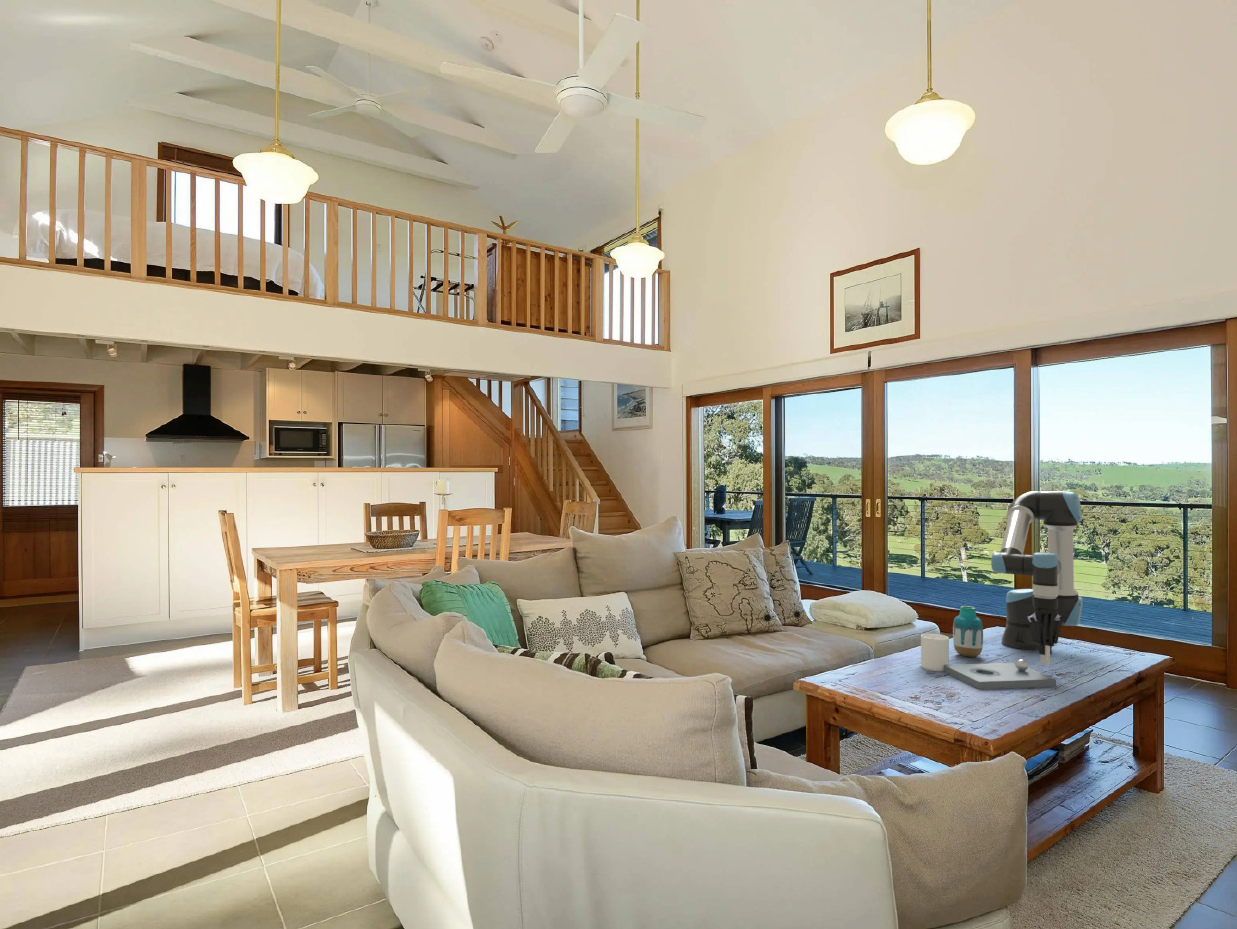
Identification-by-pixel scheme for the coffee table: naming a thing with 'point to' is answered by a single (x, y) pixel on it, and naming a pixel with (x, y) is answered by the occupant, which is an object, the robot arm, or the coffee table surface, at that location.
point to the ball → (1021, 665)
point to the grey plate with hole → (998, 676)
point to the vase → (968, 632)
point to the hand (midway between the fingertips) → (1045, 663)
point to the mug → (934, 651)
